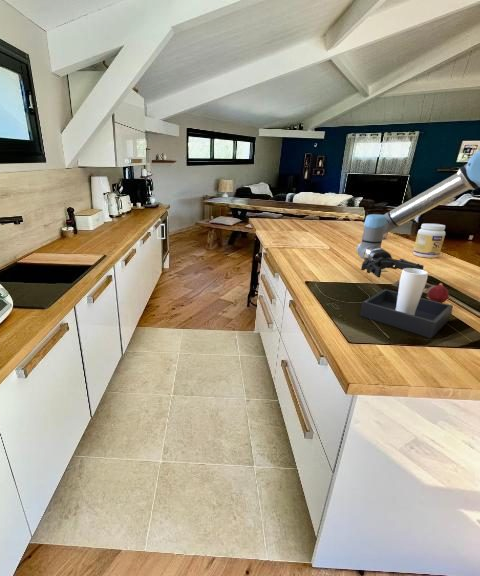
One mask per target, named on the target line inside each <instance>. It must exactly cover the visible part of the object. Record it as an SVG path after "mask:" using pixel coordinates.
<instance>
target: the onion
mask: <svg viewBox="0 0 480 576" xmlns="http://www.w3.org/2000/svg"><path fill="white" fill-rule="evenodd" d="M427 297H428V300H432V301H436V302H440V303H445V302H446V301H448V299H449V297H450V292H449V290H448V289H447V287H445V286H444V284H443V283H442V282H440V283H439V284H438V285H436V286H435V287H433V288H431V289H430V290H429V292H428V296H427Z"/></svg>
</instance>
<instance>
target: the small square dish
mask: <svg viewBox="0 0 480 576" xmlns="http://www.w3.org/2000/svg"><path fill="white" fill-rule="evenodd" d="M399 282H400V279H398V280H397V281H395V282H394V283H392V284H390V286H389V287H390V290H394V291H398V289H399ZM435 286H437V285H435V284H430V283H426V285H425V288H424V290H423V293H422V295H421V297H423V298H427V297H428V292H429V290H430V289H431V288H433V287H435Z"/></svg>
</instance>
